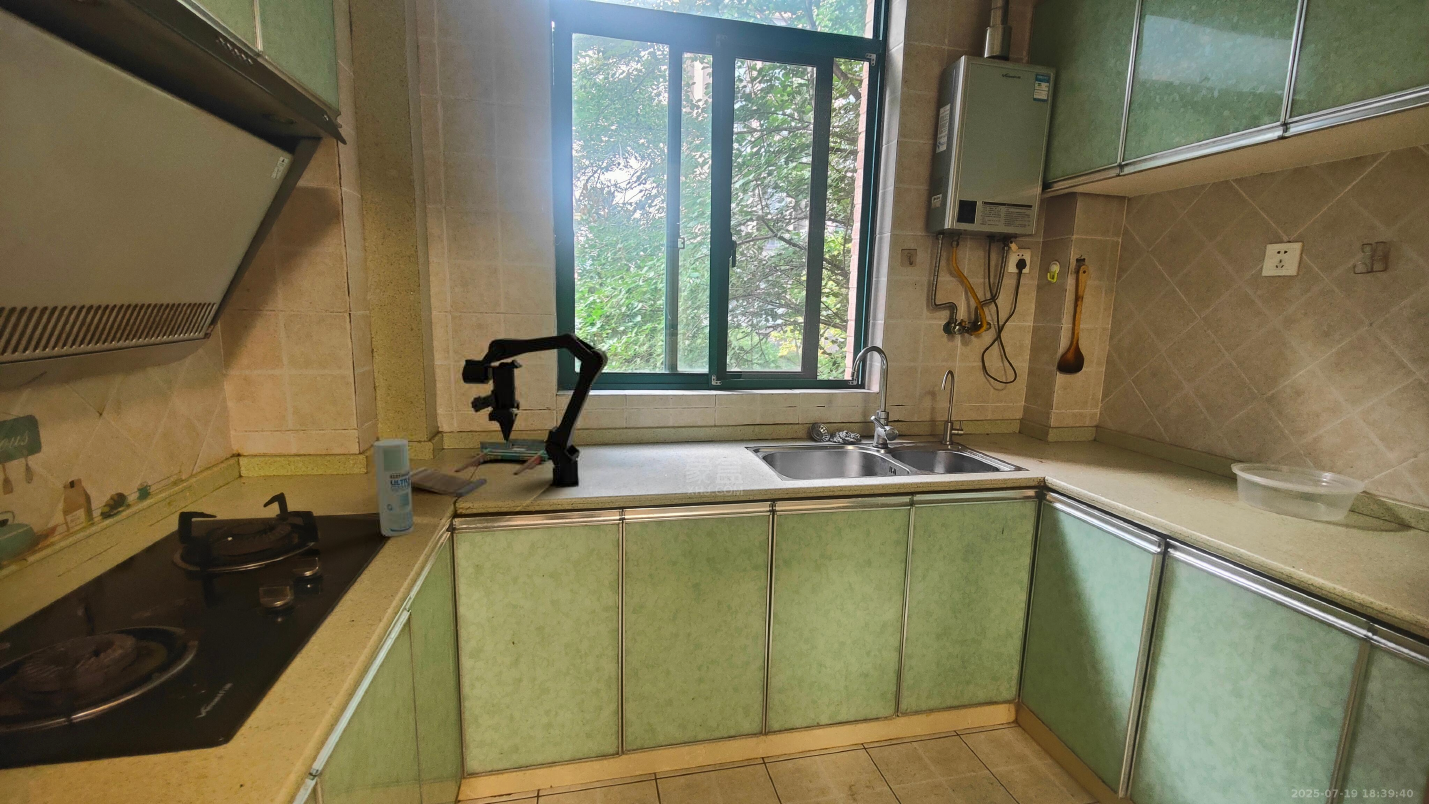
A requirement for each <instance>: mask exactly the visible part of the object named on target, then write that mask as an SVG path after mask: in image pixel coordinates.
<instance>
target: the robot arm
mask: <svg viewBox="0 0 1429 804" xmlns="http://www.w3.org/2000/svg"><path fill="white" fill-rule="evenodd" d="M559 349H561V350H562V349H566V350H567V351H569V353H570V354H572V355H573V357H574V358H576V359H577V360H578V361H580V366H579V370H578V371H579V372H578V380H577V382H576V385H575V387H574V389H573V391H572V393H571V397H570V398H569V402H568V404H567V406H566V409H565V411H564V413H563V415H562V418H561V421H560V423H559V424H558V425H554V426H553V427H552V428H550V429H549V431H548V434H547V437H546V440H544V444H546V445H545V451H546V453H547V455H548V456H549V457H550V458H551V459H550V460H551V462H552V464H553V466H552V483H553V484H554V487H555V486H560V487H574V485H578V486H579V485H580V478H579V460H578V459H579V457H580V454H581V450H580V449H578V447H576V446H575V445H574V444H573V442H574V438H575V437H574V436H575V429H576V426H577V424H578V421H579V418H580V416H581V413H582V412H583V409H584V406H585V404H586V401H587V399H588V396H589V394H590V392H591V390H592V388H593V385H594V383H595V381H596V380H597V379H598V378H599V376H600V375H601V374H602V372H603V371H604V369H605V368H606V366H607V364H608V361H609V358H608V355H607V353H606V352H605V350H603V349H601V348H595V347H594V346H592V345H591V344H590V343H588V342H586V340H583V339H582V338H581V337H579V336H578V335H577V334H575V333H574V332H567V333H564V334H558V335H550V336H542V337H535V338H528V339H526V338H525V339H524V338H517V337H516V338H513V337H511V338H510V337H504V338H502V337H501V338H497V339H493V340H491V341H490V343H489V344H488V346H487V350H488V351H487V352H486V354H485V355H484V356H483V358H482V359H474V358H467V359H465V360H464V365H463V367H462V372H461V378H462V381H463V383H464V384H465V385H488V384H489V383H490V381H491V382H492V389H491V390H490V393H488V394H485V395H483V396H481V395H478V396H474V397H473V400H472V401H470V404H471V409H473V411H474V413H475V414H476V413H480V412H481V411H483V410H485V409H489V408H490V409H491V410H490V411H489V413H488V414H487V417H488V422H496V423H498V424H499V428H500V431H501V435H502V438H503V441H504V442H506V441H508V440H509V438H511V435H512V432H513V429H514V426H515V425H516V420H517V418H518V416H519V413H517V412H515V410H514V409H516V411H520V410H521V402H520V401H519V399H516V398H517V397H516V391H517V387H516V379H515V378H516V376H515V370H517V369H521V368H523V364H521V363H519V362H518V360H517V359H515V357H518V356H521V355H525V354H530V353H536V352H543V351H551V350H554V351H555V350H559ZM513 358H514V359H513ZM508 359H512V360H511V361H504V360H508ZM498 362H499V363H498ZM495 363H498V364H495ZM494 364H495V365H494Z"/></svg>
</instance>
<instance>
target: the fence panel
mask: <svg viewBox="0 0 1429 804" xmlns="http://www.w3.org/2000/svg"><path fill="white" fill-rule="evenodd" d="M410 481H411V487H415V488H420V489H424V490H427V491H432V492H435V493H439V494H443V495H448V496H449V495H452V496H453V495H455V492H456V491H458V490H460V489H461V488H463V487H465V486H467V485H469V484H471V483H472V482H474V481H475V480H471V479H469V478H468V479H467V478H463V477H460V476H456V475H451V474H448V473H444V472H440V471H435V470H432V469H428V468H427V467H424V466H422V467H420V468H417V469H416V470H413V471H410Z"/></svg>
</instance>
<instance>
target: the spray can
mask: <svg viewBox="0 0 1429 804" xmlns="http://www.w3.org/2000/svg"><path fill="white" fill-rule="evenodd" d="M372 445H373V446H372V447H373V456H374V468H375V469H374V470H375V480H376V487H377V488H376V490H377V499H378V500H377V502H378V510H379V511H378V513H379V521H380V524H379V525H380V533H381V535H382V534H383V535H382V536H384V535H385V537H399V536H403V535H406V534H409V533H411V532H412V531H413V530H414V516H413V515H414V514H413V513H414V512H413V501H412V486H411V481H410V472H411V471H410V470H411V469H410V453H409V441H408V440H407V439H405V438H404V439H403V438H388V439H387V438H386V439H381V440H377V441H375V442H374V443H373V444H372Z"/></svg>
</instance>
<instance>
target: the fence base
mask: <svg viewBox="0 0 1429 804" xmlns="http://www.w3.org/2000/svg"><path fill="white" fill-rule="evenodd" d="M473 481H474V482H472V483H471V484H469V485H467V486H465V487H463V488H461V489H460V490H458V491H456V492H455V494H454V495H455V497H460V498H461V497H462V498H463V497H465V496H467V495H468V494H470V493H472V492H473V491H475V490H477V489H479V488H481V487H482V486H484V485H485V484H487V483H488V479H487V478H477V479H476V480H473Z"/></svg>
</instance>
